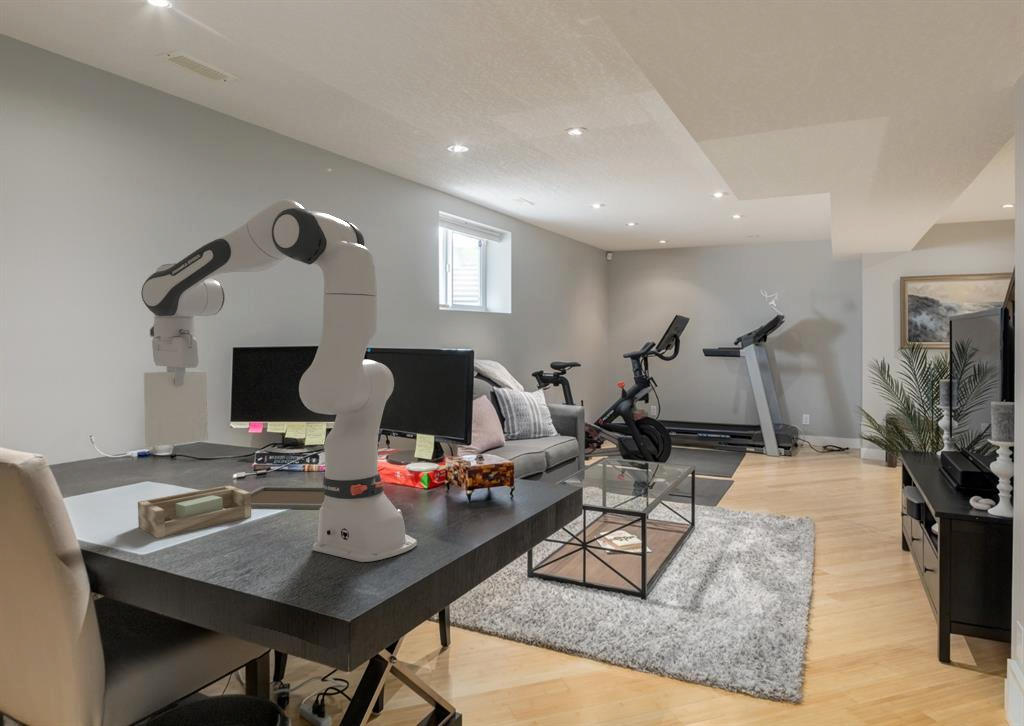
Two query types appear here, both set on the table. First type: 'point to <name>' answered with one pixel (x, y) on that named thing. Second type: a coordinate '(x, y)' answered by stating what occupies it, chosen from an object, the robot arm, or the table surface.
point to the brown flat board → (287, 497)
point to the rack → (159, 509)
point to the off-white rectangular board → (175, 408)
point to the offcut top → (199, 506)
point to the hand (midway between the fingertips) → (176, 385)
